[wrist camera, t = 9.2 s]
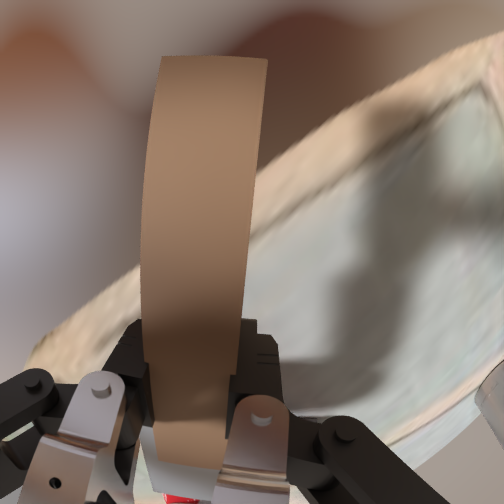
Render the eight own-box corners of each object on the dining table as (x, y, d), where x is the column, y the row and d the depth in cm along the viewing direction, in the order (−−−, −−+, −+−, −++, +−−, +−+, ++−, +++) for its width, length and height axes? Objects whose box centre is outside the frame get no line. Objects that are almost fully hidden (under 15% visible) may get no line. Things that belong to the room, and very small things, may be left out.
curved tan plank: (142, 98, 9) (95, 63, 5) (314, 109, 9) (347, 72, 5) (156, 482, 13) (144, 525, 10) (253, 494, 13) (254, 540, 10)
